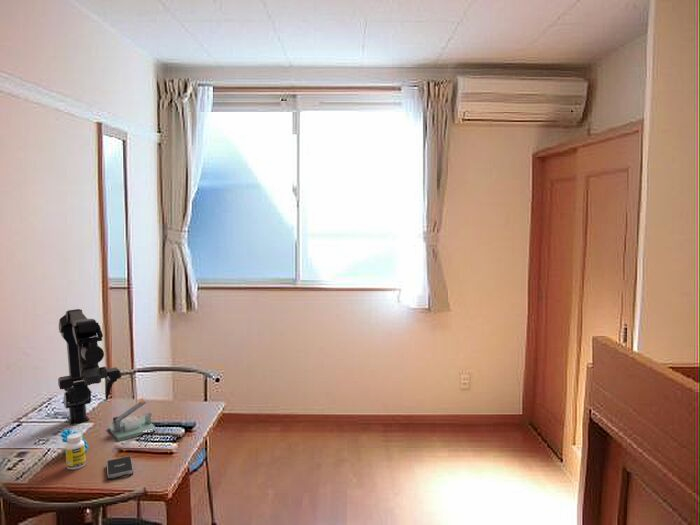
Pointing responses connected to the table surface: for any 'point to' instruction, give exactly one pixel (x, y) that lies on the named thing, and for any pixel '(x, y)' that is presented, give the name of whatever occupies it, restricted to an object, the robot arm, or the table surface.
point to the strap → (131, 409)
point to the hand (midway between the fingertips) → (92, 402)
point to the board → (132, 433)
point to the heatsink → (130, 423)
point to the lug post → (148, 418)
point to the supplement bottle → (75, 451)
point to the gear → (68, 432)
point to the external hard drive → (119, 468)
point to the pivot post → (116, 424)
